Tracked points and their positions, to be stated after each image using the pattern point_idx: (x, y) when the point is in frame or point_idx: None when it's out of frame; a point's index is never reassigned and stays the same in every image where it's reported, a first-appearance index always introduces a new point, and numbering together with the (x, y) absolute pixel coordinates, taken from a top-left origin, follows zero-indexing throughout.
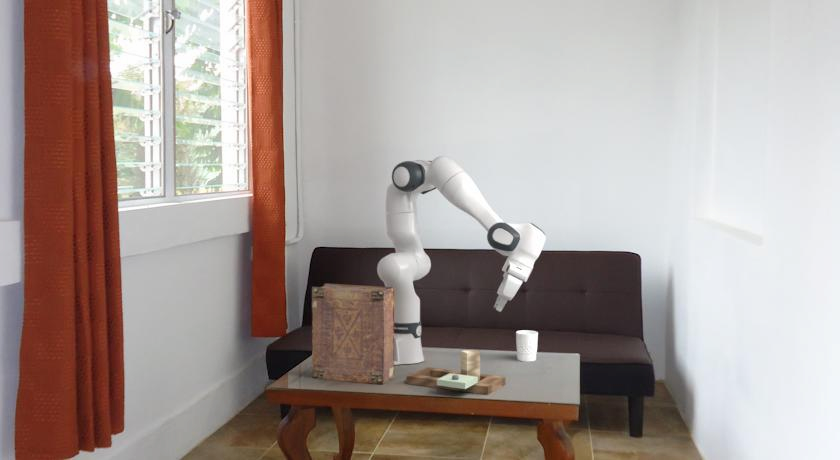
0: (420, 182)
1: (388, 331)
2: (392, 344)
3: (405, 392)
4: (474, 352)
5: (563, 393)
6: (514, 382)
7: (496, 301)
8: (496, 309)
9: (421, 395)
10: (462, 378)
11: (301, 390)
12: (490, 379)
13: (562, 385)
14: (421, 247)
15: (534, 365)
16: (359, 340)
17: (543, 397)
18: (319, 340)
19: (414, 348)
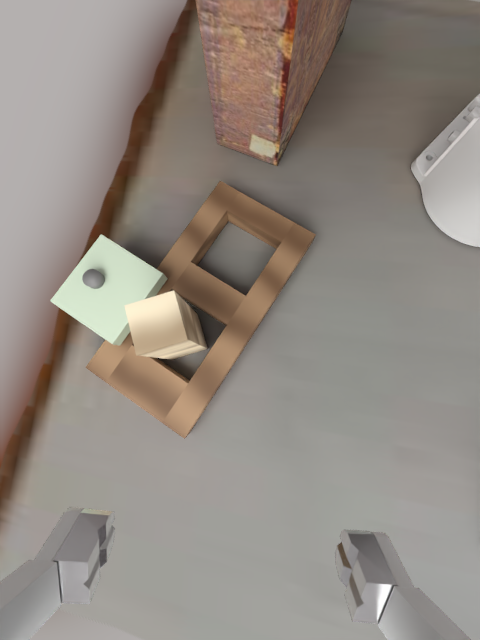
0: None
1: (239, 3)
2: (274, 78)
3: (146, 187)
4: (138, 334)
5: None
6: (211, 464)
7: (414, 607)
8: (68, 508)
9: (116, 218)
10: (100, 299)
11: (187, 6)
12: (158, 387)
13: (163, 609)
14: None
15: (429, 587)
16: None
17: (49, 510)
18: None
19: (472, 195)
